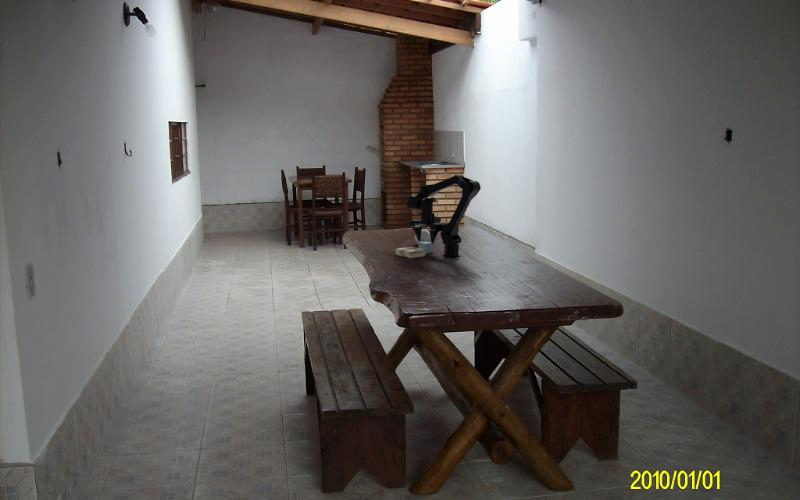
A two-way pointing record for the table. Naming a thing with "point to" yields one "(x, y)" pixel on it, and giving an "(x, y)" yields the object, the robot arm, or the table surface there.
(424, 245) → the slate block
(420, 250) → the maple base
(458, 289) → the table surface
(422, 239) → the die
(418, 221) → the robot arm
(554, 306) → the table surface
